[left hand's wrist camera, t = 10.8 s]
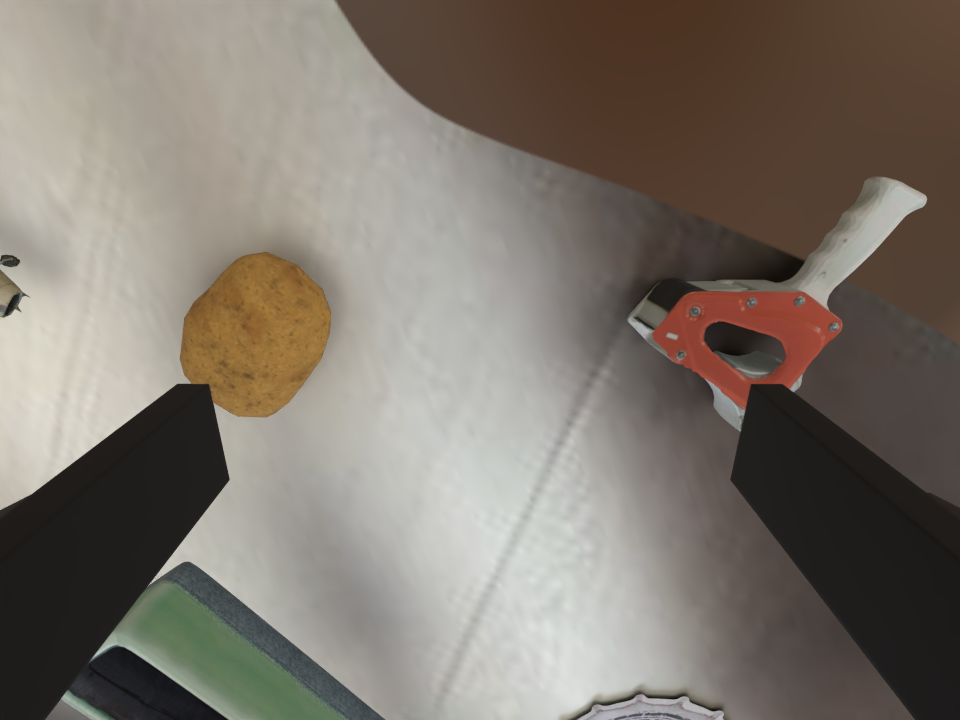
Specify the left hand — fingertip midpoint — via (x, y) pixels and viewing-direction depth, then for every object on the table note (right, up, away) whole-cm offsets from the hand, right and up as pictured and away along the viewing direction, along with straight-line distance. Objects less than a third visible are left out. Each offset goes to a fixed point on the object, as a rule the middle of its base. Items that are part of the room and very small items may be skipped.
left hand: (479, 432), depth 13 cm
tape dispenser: (+22, +6, +28) cm, 35 cm away
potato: (-16, +5, +28) cm, 33 cm away
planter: (-14, -22, +26) cm, 37 cm away
